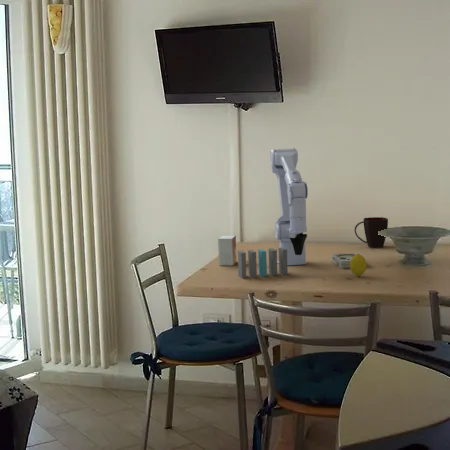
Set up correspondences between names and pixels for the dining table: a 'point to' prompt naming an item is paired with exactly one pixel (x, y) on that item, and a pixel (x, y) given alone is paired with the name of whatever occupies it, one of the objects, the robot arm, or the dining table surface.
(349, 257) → the handheld gaming console
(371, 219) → the cup
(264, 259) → the teal domino
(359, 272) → the lemon
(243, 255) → the domino
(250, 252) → the domino
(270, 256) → the domino
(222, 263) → the small box
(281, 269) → the domino
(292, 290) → the dining table surface
